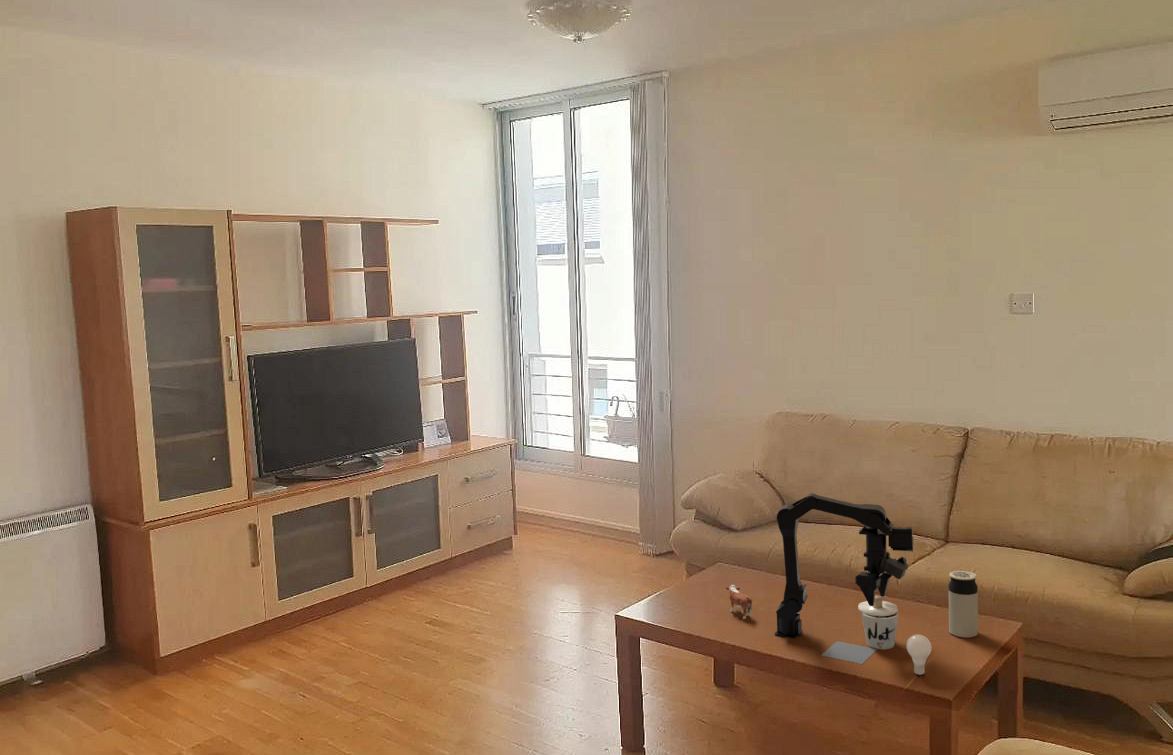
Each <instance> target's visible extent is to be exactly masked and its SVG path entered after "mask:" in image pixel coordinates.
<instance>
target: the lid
mask: <svg viewBox="0 0 1173 755" xmlns="http://www.w3.org/2000/svg"><path fill="white" fill-rule="evenodd" d="M857 607H858V611H859V612H860V613H861V612H862V613H864V614H867V615H872V616H890V615H894V614H896V613H897V612H898V613H899V611H898V608H899V607H898V606H897V605H896V604H894V603H893V602H890V601H885V600H883V597H882V596H880V595H876V594H875V600H874V606H870V605H869V604H868V602H867V600H865V601H863V602H859V604H858V606H857Z"/></svg>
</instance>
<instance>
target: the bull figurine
mask: <svg viewBox="0 0 1173 755" xmlns="http://www.w3.org/2000/svg"><path fill="white" fill-rule="evenodd" d="M725 589H726V590H727V591H729V600H730V604H731V605H730V610H729V612H730V613H733V612H734V606H737V607H738V610H737V612H738V613H741V612H743V617H742V620H746V618H747V617H749V616H750V615H752V612H753V608H752V605H753V600H752V598H751V597H749V596H748V595H746V594H744V593H742V592H741V591H739V590H741V587H738V586H737V587H736V585H735V584H730V585H729V586H726V587H725Z"/></svg>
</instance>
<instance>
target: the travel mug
mask: <svg viewBox="0 0 1173 755" xmlns="http://www.w3.org/2000/svg"><path fill="white" fill-rule="evenodd" d="M949 577H950V581H949V583H948V632H949V633H950V634H951V635H953V636H954V637H958V638H965V639H969V638H974V637H976V636H978V635H979V620H978V618H979V608H978V607H979V605H978V604H979V603H978V602H979V601H978V600H979V598H978V597H979V595H978V594H979V592H978V589H979V588H978V585H977V584H978V583H977V582H976V580H977V574H976V573H975V572H972V571H966V570H955V571H951V572H950V573H949Z"/></svg>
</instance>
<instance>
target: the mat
mask: <svg viewBox="0 0 1173 755" xmlns="http://www.w3.org/2000/svg"><path fill="white" fill-rule="evenodd" d="M877 651H878V649H876V648H872V647H870V646H864V645H860V644H859V645H858V644H854V643H853V644H852V643H848V642H844V641H838V640H836V642H834V643H833V644H832V645H831V646H830V647H829V648H827V650H825V651H824V652H823V653H822V654H821V655H820V656H821V657H825V658H826V657H827V658H830V659H832V658H833V659H836V660H840V661H844V662H850V663H855V664H859V665H863V664H864V663H865V662H867V660H868V659H870V657H871V656H873V655H874V654H875V652H877Z"/></svg>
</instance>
